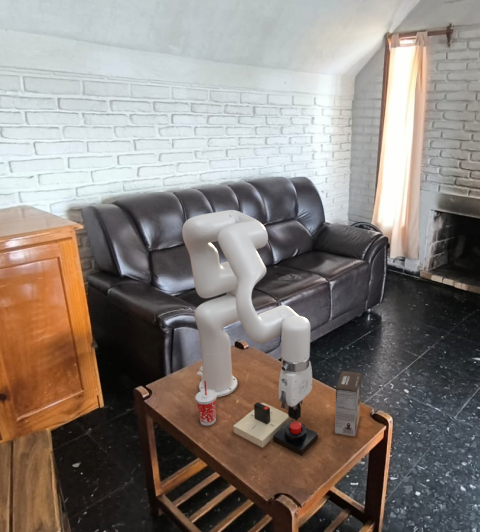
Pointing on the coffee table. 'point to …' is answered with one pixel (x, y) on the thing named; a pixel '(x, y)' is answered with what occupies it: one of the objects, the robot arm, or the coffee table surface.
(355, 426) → the coffee box
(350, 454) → the coffee table surface
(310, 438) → the power box
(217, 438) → the coffee table surface
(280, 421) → the panel
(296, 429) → the power button
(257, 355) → the coffee table surface
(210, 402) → the beverage cup
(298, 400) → the robot arm
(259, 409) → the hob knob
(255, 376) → the coffee table surface
